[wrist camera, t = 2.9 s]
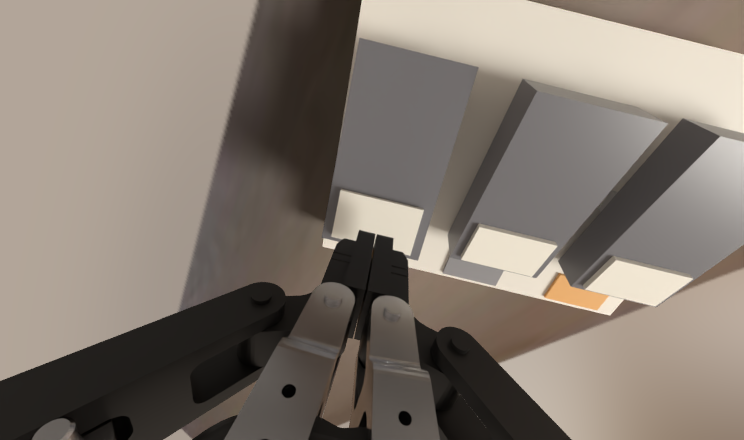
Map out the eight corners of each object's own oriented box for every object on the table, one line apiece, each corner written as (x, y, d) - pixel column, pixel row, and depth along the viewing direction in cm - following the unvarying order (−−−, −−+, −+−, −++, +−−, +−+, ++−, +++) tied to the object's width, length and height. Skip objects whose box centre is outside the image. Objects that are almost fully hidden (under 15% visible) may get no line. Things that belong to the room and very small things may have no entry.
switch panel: (374, -21, 15) (366, -45, 12) (747, 72, 15) (840, 73, 12) (332, 224, 22) (319, 252, 19) (585, 285, 22) (616, 323, 19)
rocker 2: (682, 118, 12) (726, 139, 11) (795, 146, 12) (859, 172, 11) (557, 261, 18) (572, 290, 16) (636, 279, 18) (659, 311, 16)
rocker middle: (522, 78, 12) (539, 93, 10) (637, 107, 12) (674, 126, 10) (447, 234, 18) (450, 261, 16) (526, 253, 18) (537, 282, 16)
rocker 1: (363, 49, 14) (358, 35, 12) (466, 75, 14) (480, 65, 12) (329, 224, 17) (320, 239, 14) (414, 245, 17) (418, 263, 14)
